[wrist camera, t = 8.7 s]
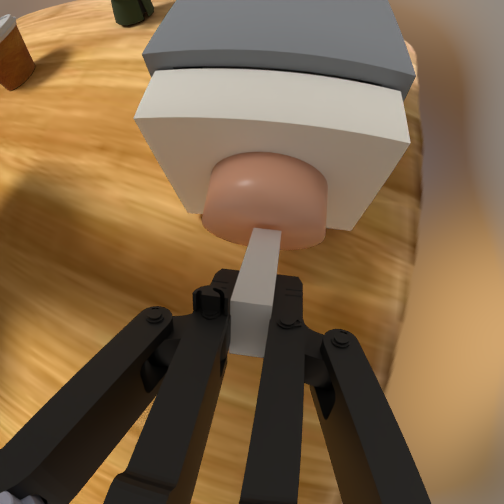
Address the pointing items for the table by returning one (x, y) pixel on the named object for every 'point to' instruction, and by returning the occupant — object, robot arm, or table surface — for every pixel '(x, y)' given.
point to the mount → (285, 39)
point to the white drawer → (273, 147)
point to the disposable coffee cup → (13, 55)
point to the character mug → (131, 10)
